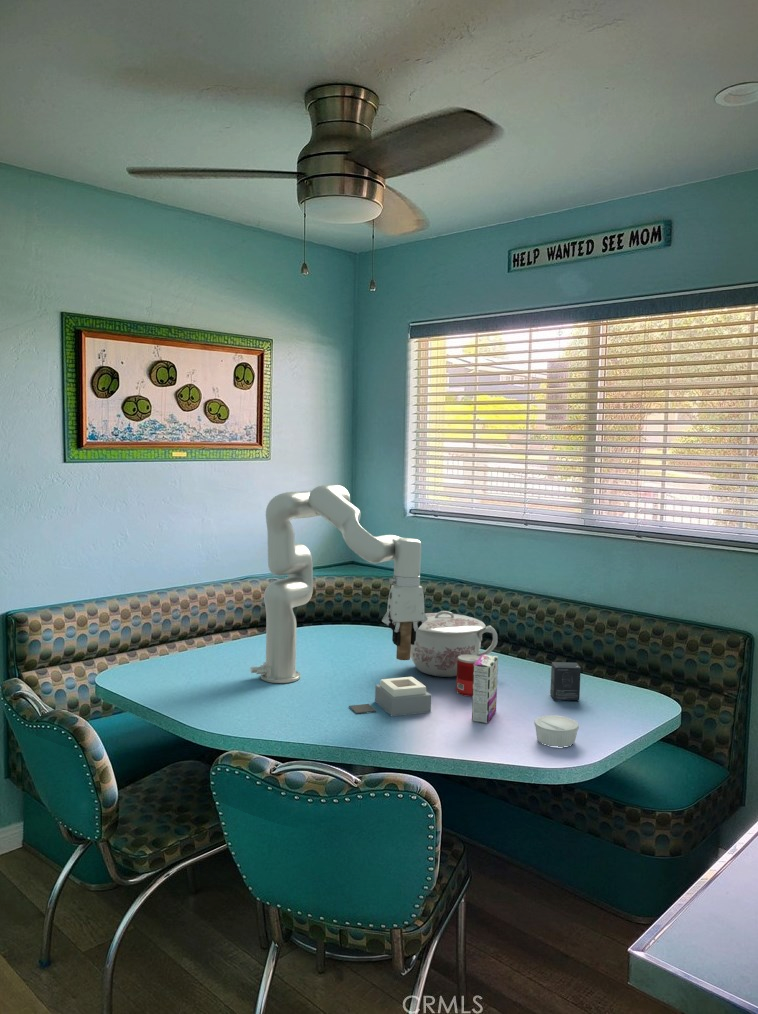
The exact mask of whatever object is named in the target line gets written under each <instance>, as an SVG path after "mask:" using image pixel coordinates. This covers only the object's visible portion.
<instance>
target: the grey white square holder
mask: <svg viewBox="0 0 758 1014" xmlns="http://www.w3.org/2000/svg"><path fill="white" fill-rule="evenodd" d="M374 686H375V690H374V691H375V692H374V694H375V695H374V702H375V701H376V702H377V703H378V706H380V707H381V708H382V709H383V710H384V711H385V710H386V711H387V712H386V711H385V712H386V713H388V714H389V715H390V716H391V715H392V716H391V717H397V716H396V715H399V716H405V715H404V714H408V715H414V714H415V713H418V714H424V713H425V714H426V713H432V711H431V709H432V694H431V693H429V692H428V691H427V686H426V685H424V684H423V683H422V682H421V681H419V680H417V679H416V678H415V677H413V676H405V677H391V678H383V679H380V684H375V685H374ZM376 702H375V703H376ZM415 715H416V714H415Z"/></svg>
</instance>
